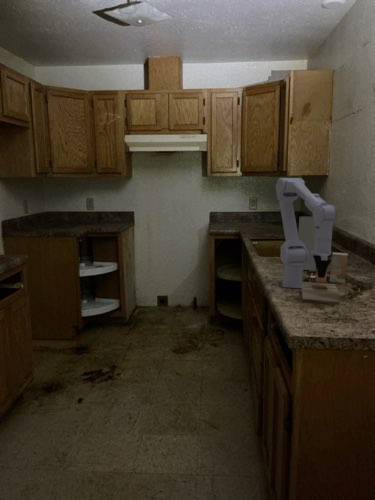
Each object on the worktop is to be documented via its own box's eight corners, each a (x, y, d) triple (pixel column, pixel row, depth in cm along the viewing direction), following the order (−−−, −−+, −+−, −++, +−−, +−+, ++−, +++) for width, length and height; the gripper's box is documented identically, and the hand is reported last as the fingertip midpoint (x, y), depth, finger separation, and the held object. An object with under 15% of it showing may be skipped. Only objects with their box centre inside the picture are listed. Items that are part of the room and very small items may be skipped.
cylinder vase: (328, 270, 183) (332, 218, 179) (307, 272, 179) (311, 219, 174) (311, 265, 195) (314, 216, 190) (291, 267, 190) (294, 216, 186)
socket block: (301, 292, 147) (301, 282, 146) (334, 294, 144) (334, 284, 144) (302, 301, 136) (303, 290, 135) (338, 304, 133) (339, 293, 132)
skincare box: (329, 281, 163) (331, 253, 160) (329, 279, 167) (331, 252, 164) (345, 283, 160) (348, 254, 158) (345, 280, 164) (347, 253, 162)
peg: (319, 279, 141) (321, 264, 140) (328, 281, 138) (329, 265, 137) (313, 281, 139) (315, 265, 138) (322, 283, 136) (323, 266, 135)
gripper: (309, 235, 144) (307, 270, 146) (313, 241, 130) (310, 280, 132) (329, 236, 142) (326, 272, 145) (335, 242, 128) (332, 281, 131)
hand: (320, 276), depth 138 cm, fingers closed on peg, 3 cm apart
